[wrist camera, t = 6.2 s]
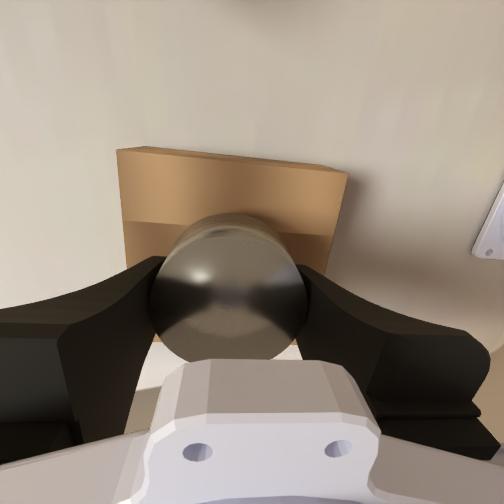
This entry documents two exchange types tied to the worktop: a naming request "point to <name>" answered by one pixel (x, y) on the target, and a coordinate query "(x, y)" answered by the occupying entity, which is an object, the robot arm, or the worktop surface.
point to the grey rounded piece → (228, 292)
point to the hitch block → (226, 200)
